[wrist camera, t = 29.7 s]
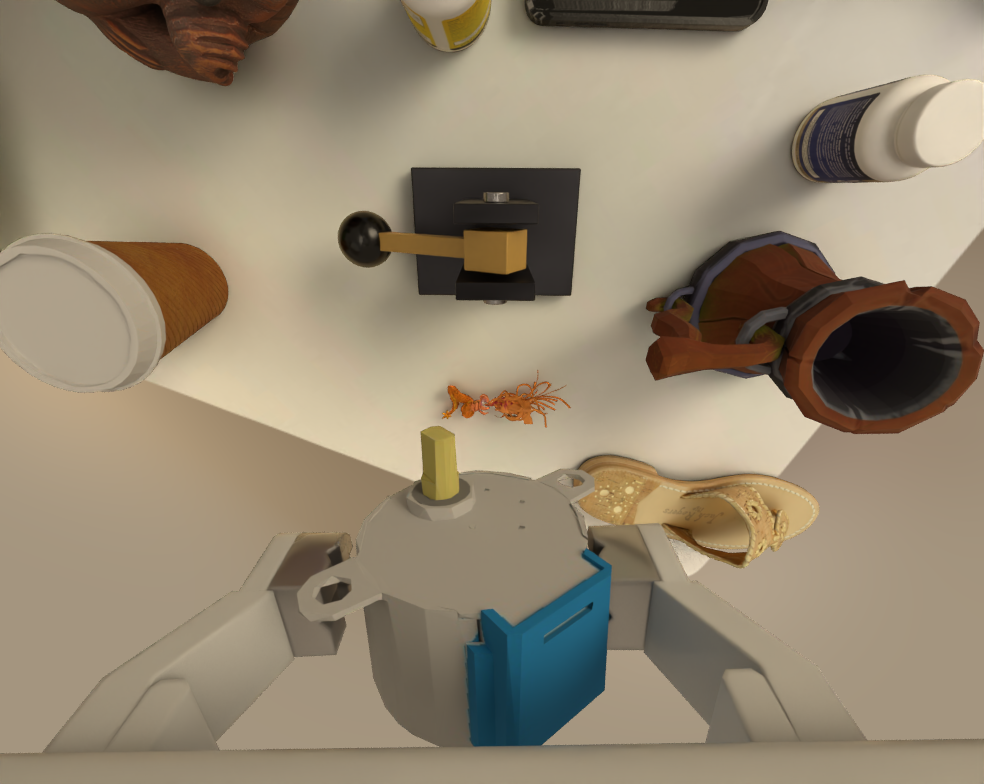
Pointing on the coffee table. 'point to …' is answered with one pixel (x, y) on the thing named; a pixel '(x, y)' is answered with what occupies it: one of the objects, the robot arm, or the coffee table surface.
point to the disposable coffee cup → (102, 307)
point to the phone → (648, 13)
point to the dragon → (502, 404)
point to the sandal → (700, 507)
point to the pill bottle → (891, 131)
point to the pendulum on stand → (500, 204)
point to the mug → (819, 335)
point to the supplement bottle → (448, 21)
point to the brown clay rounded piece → (186, 31)
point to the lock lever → (432, 244)
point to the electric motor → (477, 602)
